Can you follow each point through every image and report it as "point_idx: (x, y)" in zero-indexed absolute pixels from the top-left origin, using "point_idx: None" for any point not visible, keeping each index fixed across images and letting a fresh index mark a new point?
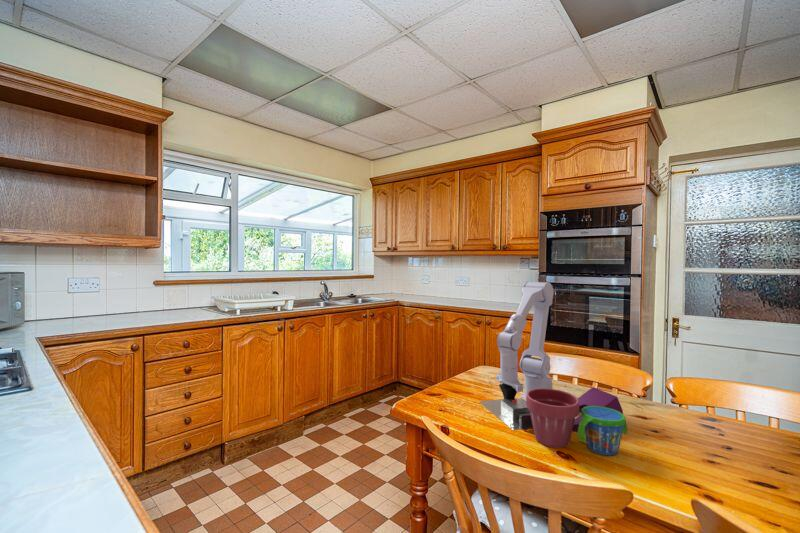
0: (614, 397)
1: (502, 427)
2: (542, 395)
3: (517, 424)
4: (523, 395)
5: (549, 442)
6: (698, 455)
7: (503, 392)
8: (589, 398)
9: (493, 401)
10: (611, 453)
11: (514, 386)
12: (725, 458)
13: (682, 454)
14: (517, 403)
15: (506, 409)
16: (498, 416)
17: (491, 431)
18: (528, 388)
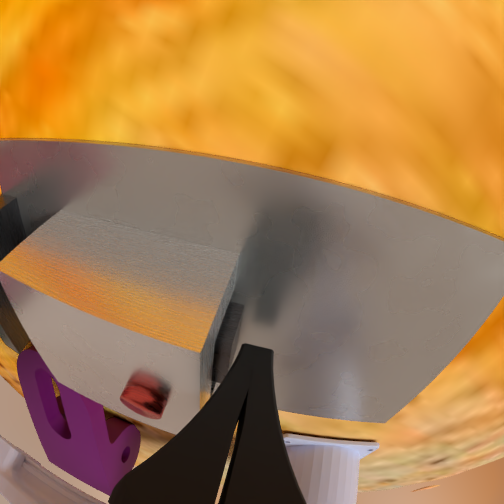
0: (50, 459)
1: (27, 100)
2: None
3: (36, 210)
4: (362, 449)
5: None
6: (10, 371)
7: (246, 460)
8: (79, 460)
9: (446, 341)
10: None
11: (10, 486)
12: (13, 379)
13: (5, 364)
14: (96, 372)
15: (105, 268)
16: (160, 169)
17: (13, 12)
18: (312, 491)
